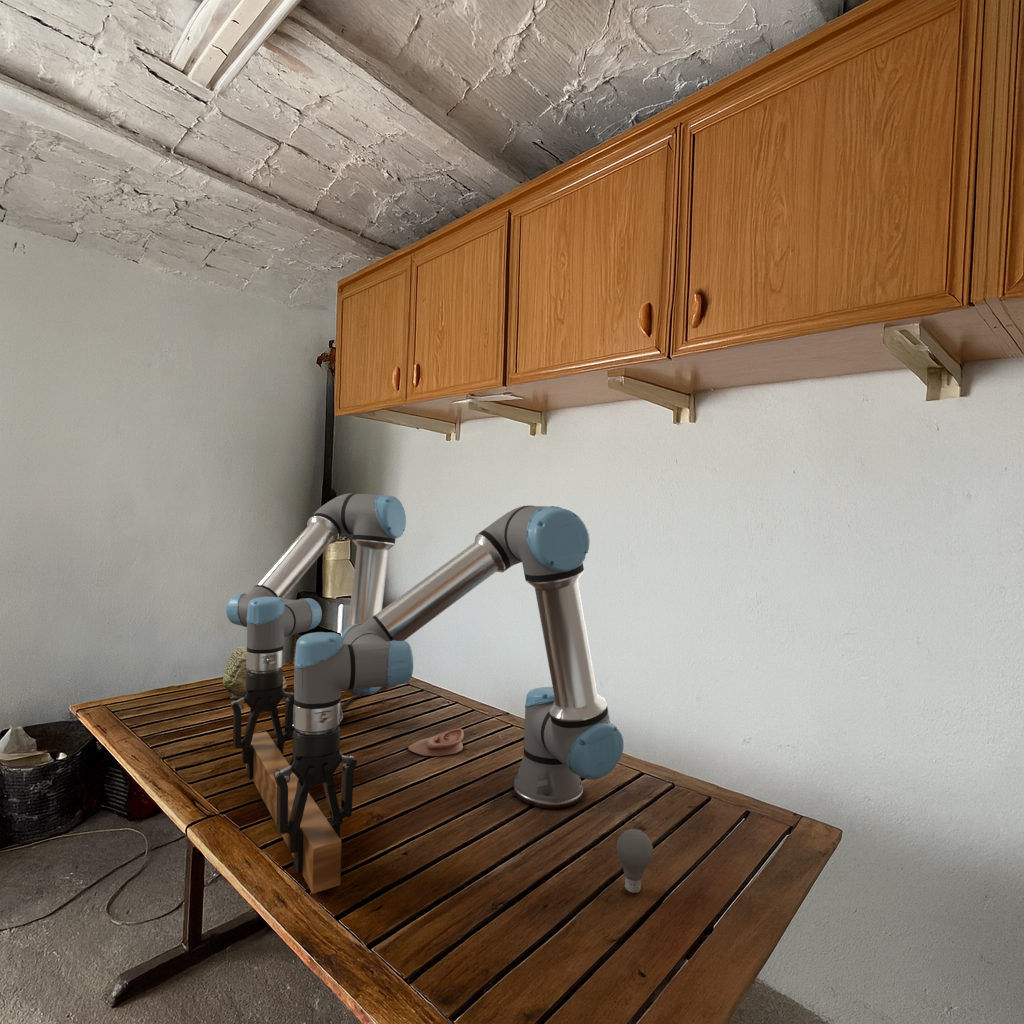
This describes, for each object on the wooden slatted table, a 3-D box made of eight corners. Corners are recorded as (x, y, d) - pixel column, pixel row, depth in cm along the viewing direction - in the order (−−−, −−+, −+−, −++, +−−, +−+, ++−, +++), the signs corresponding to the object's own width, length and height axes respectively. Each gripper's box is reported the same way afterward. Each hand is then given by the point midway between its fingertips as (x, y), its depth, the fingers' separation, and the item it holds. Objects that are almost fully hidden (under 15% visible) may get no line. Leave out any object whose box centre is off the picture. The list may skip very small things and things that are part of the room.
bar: (245, 766, 144) (245, 734, 143) (266, 762, 146) (266, 731, 146) (312, 894, 99) (313, 848, 99) (340, 885, 102) (341, 840, 102)
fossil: (218, 695, 195) (220, 647, 195) (278, 685, 208) (279, 640, 207) (228, 703, 189) (230, 653, 188) (289, 692, 201) (290, 645, 201)
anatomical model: (404, 737, 158) (420, 722, 169) (403, 753, 158) (419, 736, 169) (455, 743, 155) (468, 727, 166) (454, 760, 155) (467, 742, 166)
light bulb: (610, 879, 108) (613, 822, 108) (644, 879, 109) (647, 822, 109) (619, 902, 102) (622, 840, 102) (655, 901, 103) (658, 840, 103)
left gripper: (223, 678, 130) (221, 790, 131) (310, 668, 140) (307, 772, 141) (218, 669, 137) (216, 776, 137) (301, 660, 146) (298, 759, 147)
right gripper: (266, 745, 98) (264, 893, 98) (375, 725, 107) (372, 860, 108) (256, 729, 104) (253, 868, 105) (360, 711, 114) (357, 839, 114)
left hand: (262, 773), depth 139 cm, fingers closed on bar, 4 cm apart
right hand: (314, 864), depth 106 cm, fingers closed on bar, 4 cm apart
